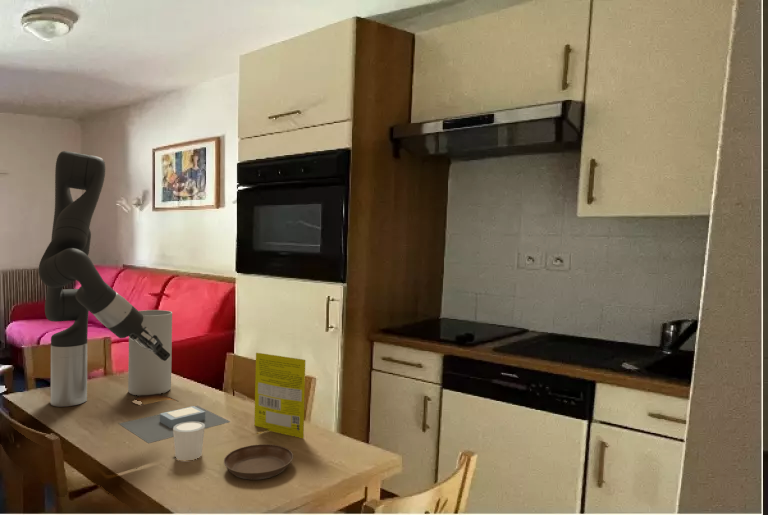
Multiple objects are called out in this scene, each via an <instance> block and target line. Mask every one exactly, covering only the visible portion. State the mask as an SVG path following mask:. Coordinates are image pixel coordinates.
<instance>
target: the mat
mask: <svg viewBox="0 0 768 515" xmlns="http://www.w3.org/2000/svg"><path fill="white" fill-rule="evenodd" d="M195 407H197V408H199V409H201V410H203V411H205V420H203V421H199V422H201V423H204V424H205V429H209V428H212V427H215V426H221V425H224V424H227V423H231V420H228V419H226V418H223V417H222V416H220V415H217V413H216V414H215V413H214V412H212V411H210V410H207V409H206V408H204V407H201V406H199V405H195ZM118 425H120V426H121V427H123V428H124V429H126V430H127V431H129V432H130V433H132V434H134V435H135V436H137V437H138V438H139V439H141V440H142V441H144V442H146V443H148V444H151V443H156V442H159V441H163V440H166V439H170V438H174V433H173V428H169V427H168V426H166V425H164V424H163V423H161V422H160V413H159V414H154V415H150V416H145V417H142V418H137V419H133V420H128V421H124V422H118Z"/></svg>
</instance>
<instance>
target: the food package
mask: <svg viewBox="0 0 768 515" xmlns="http://www.w3.org/2000/svg"><path fill="white" fill-rule="evenodd" d="M254 377H255V381H254V382H255V384H254V387H255V388H254V423H253V424H254V427H259V428H263V429H265V431H268V432H271V431H272V433H276V434H280V433H281V435H285V436H291V437H294V436H295V438H298V437H299V438H298V439H304V431H305V430H304V427H305V396H306V395H305V391H306V390H305V388H306V384H305V383H306V359H302V358H296V357H288V356H281V355H275V354H268V353H261V352H256V353H255V376H254Z"/></svg>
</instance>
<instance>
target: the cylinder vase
mask: <svg viewBox="0 0 768 515" xmlns="http://www.w3.org/2000/svg"><path fill="white" fill-rule="evenodd" d="M138 311H139V312H140V313H141V314H142V315H143V317H144V319H143V322H142V324H141V325H142V326H143V327H147V328H148V329H149V330H150V331H151V333H152V334H153V335H155V336H157V337H158V338H159V340H160V341H161V343H162V344H163V346H162V347H163V348H164V349H165V350H166V351H167V352H168V353H170V356H169V358H168V359H167V360H166V361H164V360H161V359H160V358H159V357H158V356H157V355H155V354H154V353H153V352H150V351H149V350H148V349H145V348H144V347H142V346H140V345H139V344H138V343H137V342H136V341H133V340H132V339H130V338H129V337H128V367H127V368H128V371H127V372H128V373H127V375H128V378H127V382H128V383H127V387H128V388H127V390H128V391H127V392H128V393H129V394H130V395H133V396H136V395H137V396H136V397H138V396H140V395H154V394H161V393H163V394H165V393H167V392H169V391H170V390H171V388H172V348H173V346H172V344H173V343H172V341H173V311H170V310H164V309H162V310H161V309H145V310H138ZM161 395H162V394H161Z"/></svg>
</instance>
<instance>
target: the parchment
mask: <svg viewBox="0 0 768 515" xmlns="http://www.w3.org/2000/svg"><path fill="white" fill-rule="evenodd" d="M136 397H137V398H136ZM136 397H135V398H136V399H135V398H134V399H135V400H137V401H141V402H142V404H144V406H145V405H149V404H155V403H158V402H159V403H160V402H164V401H168V400H170V401H176V402H178V400H177V399H176V398H173V397H170V396H168V395H164V394H154V395H140V396H139V397H138V396H136Z"/></svg>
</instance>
